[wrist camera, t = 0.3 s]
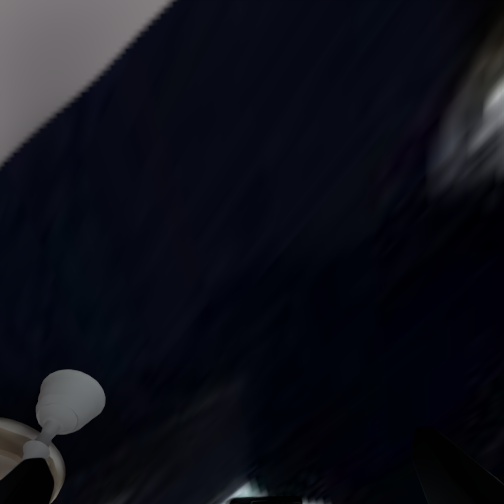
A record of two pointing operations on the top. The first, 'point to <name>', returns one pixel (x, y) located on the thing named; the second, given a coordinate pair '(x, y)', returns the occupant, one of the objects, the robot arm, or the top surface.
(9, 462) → the rimmed bowl
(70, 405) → the chalice
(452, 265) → the top surface
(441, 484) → the robot arm
